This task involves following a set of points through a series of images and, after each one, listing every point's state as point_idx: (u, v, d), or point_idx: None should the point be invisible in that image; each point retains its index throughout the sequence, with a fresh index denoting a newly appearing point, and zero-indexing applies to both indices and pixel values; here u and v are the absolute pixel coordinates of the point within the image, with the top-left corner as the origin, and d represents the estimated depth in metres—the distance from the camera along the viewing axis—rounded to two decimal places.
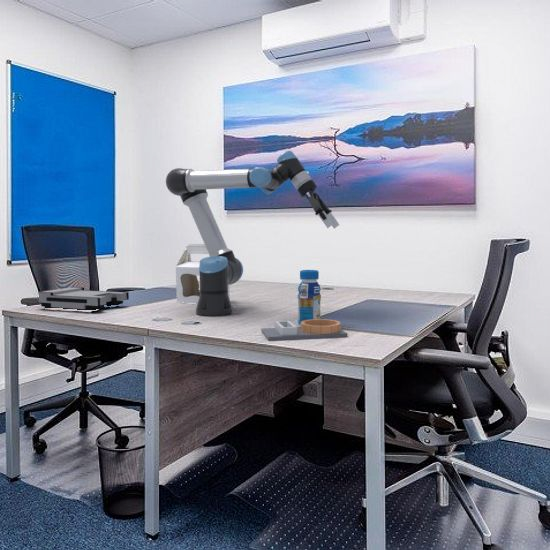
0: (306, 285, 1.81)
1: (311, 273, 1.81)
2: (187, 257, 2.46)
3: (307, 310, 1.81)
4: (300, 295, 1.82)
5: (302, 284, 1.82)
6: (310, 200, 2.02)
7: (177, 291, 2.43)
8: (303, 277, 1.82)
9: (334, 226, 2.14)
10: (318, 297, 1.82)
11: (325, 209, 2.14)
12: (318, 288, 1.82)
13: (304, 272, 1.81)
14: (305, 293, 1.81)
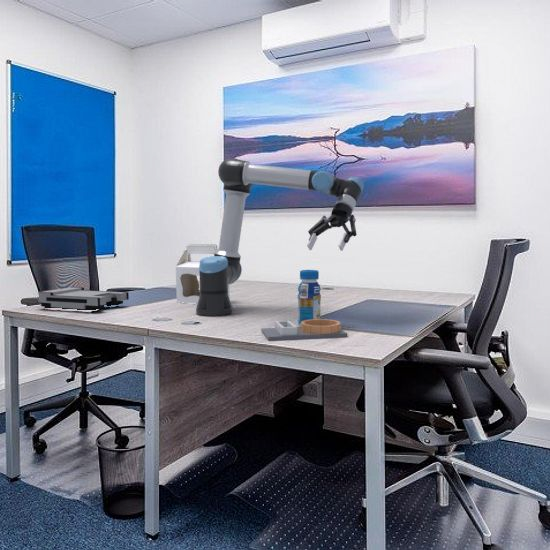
0: (306, 285, 1.81)
1: (311, 273, 1.81)
2: (187, 257, 2.46)
3: (307, 310, 1.81)
4: (300, 295, 1.82)
5: (302, 284, 1.82)
6: (353, 222, 1.93)
7: (177, 291, 2.43)
8: (303, 277, 1.82)
9: (309, 245, 1.95)
10: (318, 297, 1.82)
11: (319, 232, 2.00)
12: (318, 288, 1.82)
13: (304, 272, 1.81)
14: (305, 293, 1.81)
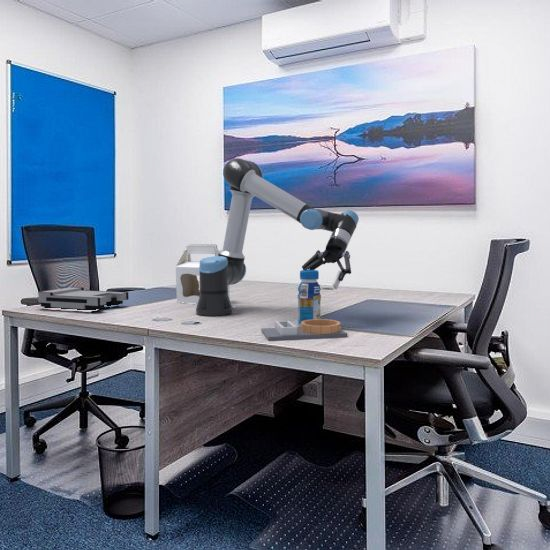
0: (306, 285, 1.81)
1: (311, 273, 1.81)
2: (187, 257, 2.46)
3: (307, 310, 1.81)
4: (300, 295, 1.82)
5: (302, 284, 1.82)
6: (348, 259, 1.89)
7: (177, 291, 2.43)
8: (303, 277, 1.82)
9: None
10: (318, 297, 1.82)
11: (313, 268, 1.95)
12: (318, 288, 1.82)
13: (304, 272, 1.81)
14: (305, 293, 1.81)
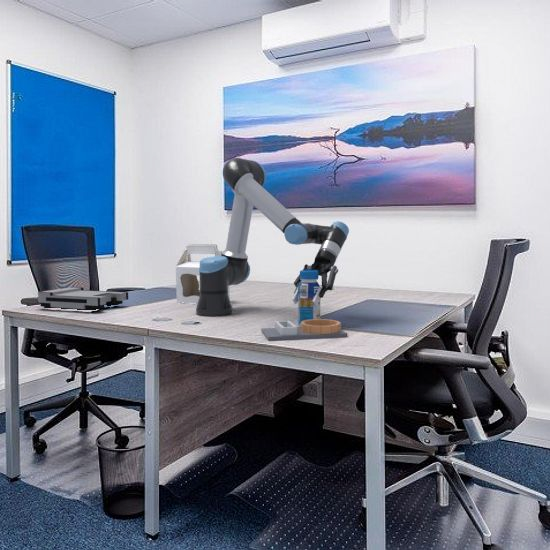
0: (306, 285, 1.81)
1: (311, 273, 1.81)
2: (187, 257, 2.46)
3: (306, 310, 1.81)
4: (300, 295, 1.82)
5: (301, 284, 1.82)
6: (333, 274, 1.84)
7: (177, 291, 2.43)
8: (303, 277, 1.82)
9: (294, 299, 1.84)
10: None
11: None
12: (318, 288, 1.82)
13: (304, 272, 1.81)
14: (305, 293, 1.81)
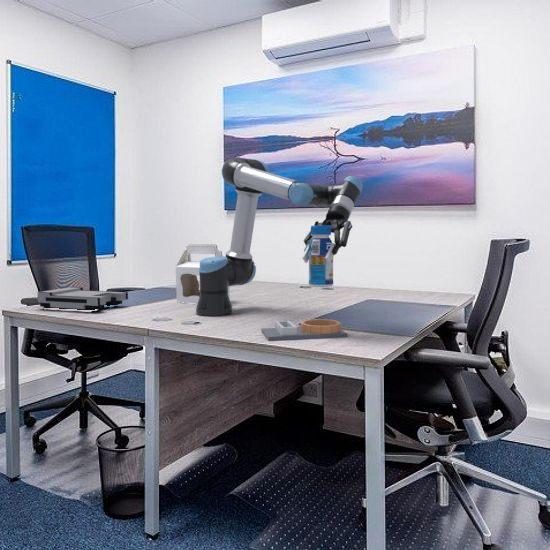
0: (318, 241, 1.65)
1: (323, 227, 1.65)
2: (187, 257, 2.46)
3: (318, 268, 1.66)
4: (311, 252, 1.67)
5: (313, 240, 1.66)
6: (347, 230, 1.69)
7: (177, 291, 2.43)
8: (314, 232, 1.66)
9: (305, 257, 1.69)
10: None
11: None
12: (331, 244, 1.66)
13: (315, 227, 1.65)
14: (317, 250, 1.65)
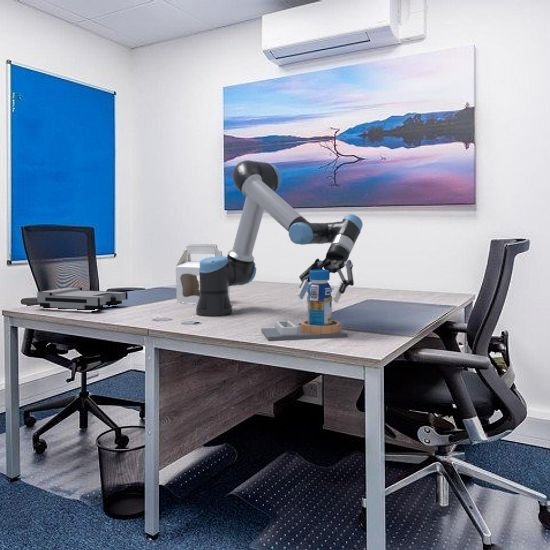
0: (317, 286, 1.66)
1: (322, 273, 1.66)
2: (187, 257, 2.46)
3: (317, 313, 1.67)
4: (310, 297, 1.68)
5: (311, 285, 1.68)
6: (350, 269, 1.70)
7: (177, 291, 2.43)
8: (313, 278, 1.67)
9: (300, 294, 1.72)
10: (329, 299, 1.67)
11: None
12: (329, 289, 1.67)
13: (314, 272, 1.67)
14: (315, 295, 1.67)
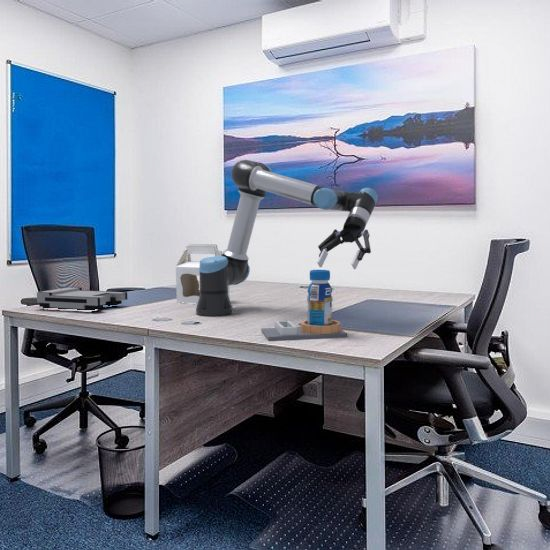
0: (317, 286, 1.66)
1: (322, 273, 1.66)
2: (187, 257, 2.46)
3: (317, 313, 1.67)
4: (310, 297, 1.68)
5: (312, 285, 1.68)
6: (367, 238, 1.79)
7: (177, 291, 2.43)
8: (313, 278, 1.67)
9: (320, 262, 1.81)
10: (330, 299, 1.67)
11: (330, 247, 1.86)
12: (330, 289, 1.68)
13: (314, 272, 1.67)
14: (316, 295, 1.67)
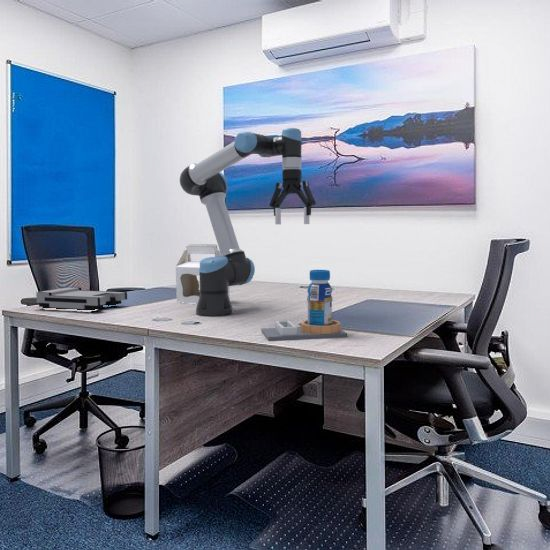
0: (317, 286, 1.66)
1: (322, 273, 1.66)
2: (187, 257, 2.46)
3: (317, 313, 1.67)
4: (310, 297, 1.68)
5: (312, 285, 1.68)
6: (307, 190, 1.94)
7: (177, 291, 2.43)
8: (313, 278, 1.67)
9: (277, 222, 2.04)
10: (329, 299, 1.67)
11: (280, 202, 2.03)
12: (329, 289, 1.68)
13: (314, 272, 1.67)
14: (316, 295, 1.67)
